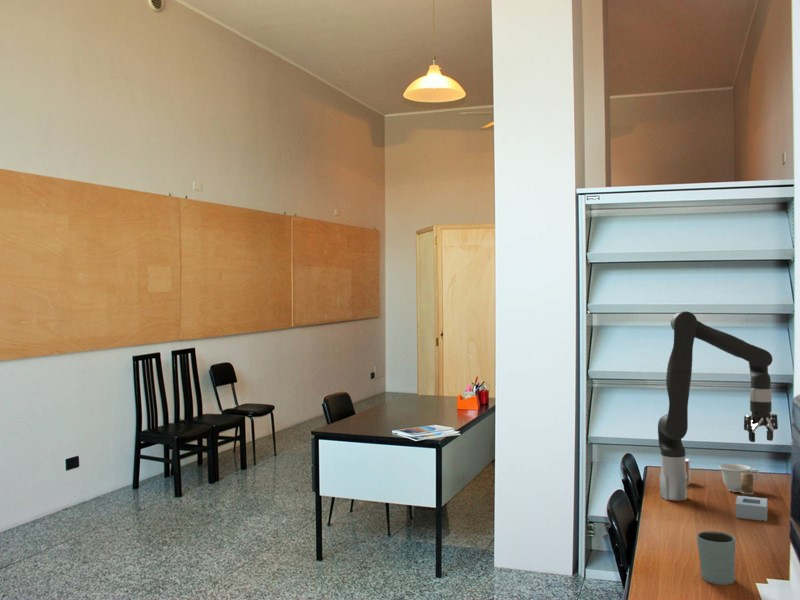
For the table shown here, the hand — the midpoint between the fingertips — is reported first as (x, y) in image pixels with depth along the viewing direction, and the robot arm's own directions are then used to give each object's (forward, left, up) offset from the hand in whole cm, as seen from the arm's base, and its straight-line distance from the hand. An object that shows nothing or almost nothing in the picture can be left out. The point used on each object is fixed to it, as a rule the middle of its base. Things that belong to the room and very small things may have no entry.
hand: (760, 441), depth 273 cm
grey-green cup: (-55, -74, -24) cm, 95 cm away
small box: (-20, +29, -24) cm, 43 cm away
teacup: (-2, +13, -23) cm, 27 cm away
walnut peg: (-9, -6, -23) cm, 26 cm away
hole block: (-14, -18, -23) cm, 32 cm away
